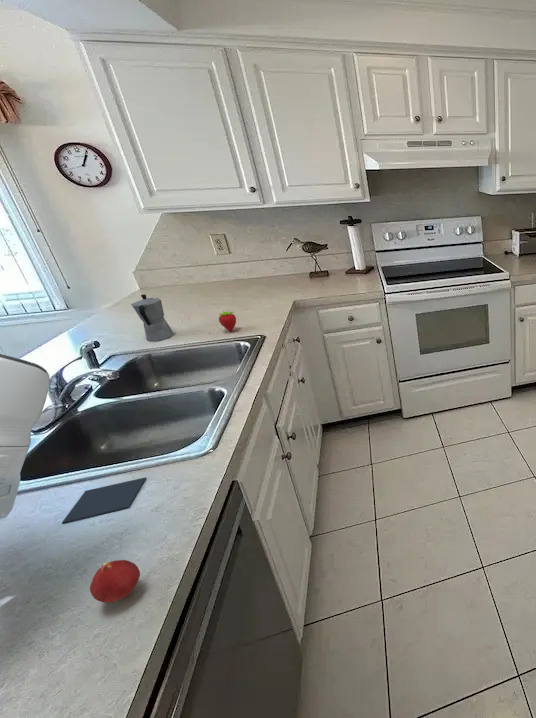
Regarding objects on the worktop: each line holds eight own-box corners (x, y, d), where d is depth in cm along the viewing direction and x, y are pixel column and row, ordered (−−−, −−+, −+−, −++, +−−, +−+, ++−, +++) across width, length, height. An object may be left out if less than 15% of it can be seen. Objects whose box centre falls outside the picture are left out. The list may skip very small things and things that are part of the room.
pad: (62, 523, 81) (61, 522, 81) (86, 491, 89) (85, 490, 89) (129, 508, 85) (128, 506, 84) (146, 478, 92) (146, 477, 92)
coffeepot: (150, 333, 169) (132, 291, 161) (178, 329, 172) (161, 288, 165) (140, 348, 156) (120, 303, 148) (170, 342, 160) (152, 299, 152)
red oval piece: (93, 607, 66) (69, 574, 63) (131, 575, 71) (111, 543, 67) (118, 618, 64) (95, 585, 61) (155, 584, 69) (136, 551, 66)
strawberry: (237, 326, 173) (230, 304, 169) (241, 332, 168) (234, 309, 163) (221, 330, 169) (213, 307, 165) (224, 336, 164) (216, 312, 160)
